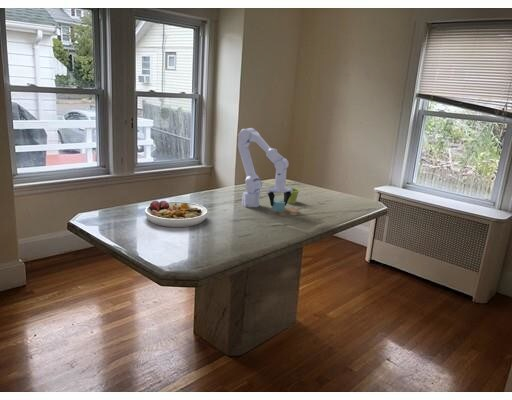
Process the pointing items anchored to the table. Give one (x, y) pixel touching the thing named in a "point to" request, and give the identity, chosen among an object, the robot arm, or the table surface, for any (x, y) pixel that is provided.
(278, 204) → the blue cube with slot
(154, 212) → the bowl
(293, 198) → the plant pot
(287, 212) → the panel
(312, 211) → the table surface
